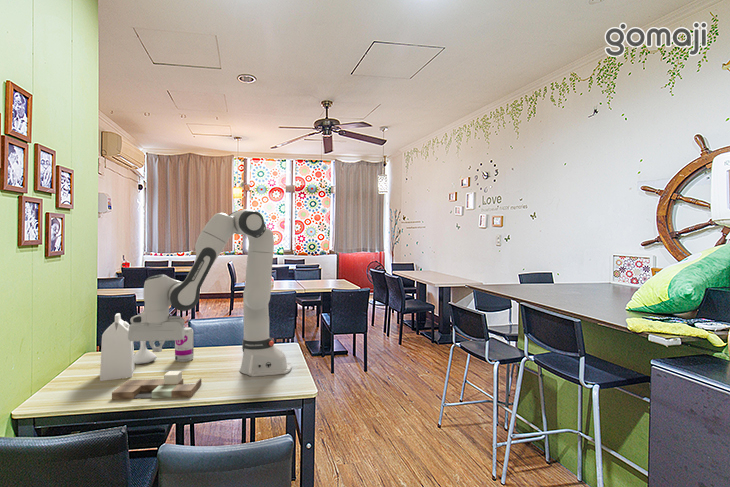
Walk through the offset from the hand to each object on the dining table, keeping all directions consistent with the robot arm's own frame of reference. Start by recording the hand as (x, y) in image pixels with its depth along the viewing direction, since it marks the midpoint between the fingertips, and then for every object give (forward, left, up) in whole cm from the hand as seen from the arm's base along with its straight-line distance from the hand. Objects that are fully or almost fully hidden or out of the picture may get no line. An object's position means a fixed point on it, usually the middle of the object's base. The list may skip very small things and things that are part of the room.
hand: (157, 351), depth 164 cm
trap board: (-2, +3, -15) cm, 15 cm away
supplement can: (+2, -38, -15) cm, 41 cm away
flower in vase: (+19, -35, -15) cm, 43 cm away
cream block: (-6, 0, -12) cm, 13 cm away
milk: (+23, -18, -15) cm, 33 cm away
